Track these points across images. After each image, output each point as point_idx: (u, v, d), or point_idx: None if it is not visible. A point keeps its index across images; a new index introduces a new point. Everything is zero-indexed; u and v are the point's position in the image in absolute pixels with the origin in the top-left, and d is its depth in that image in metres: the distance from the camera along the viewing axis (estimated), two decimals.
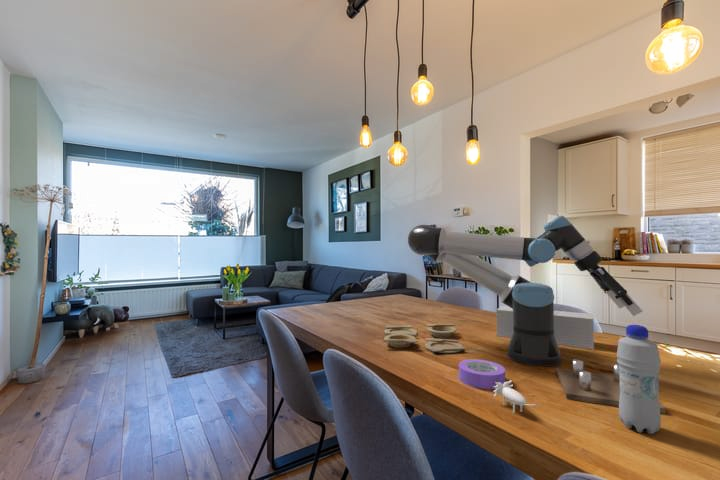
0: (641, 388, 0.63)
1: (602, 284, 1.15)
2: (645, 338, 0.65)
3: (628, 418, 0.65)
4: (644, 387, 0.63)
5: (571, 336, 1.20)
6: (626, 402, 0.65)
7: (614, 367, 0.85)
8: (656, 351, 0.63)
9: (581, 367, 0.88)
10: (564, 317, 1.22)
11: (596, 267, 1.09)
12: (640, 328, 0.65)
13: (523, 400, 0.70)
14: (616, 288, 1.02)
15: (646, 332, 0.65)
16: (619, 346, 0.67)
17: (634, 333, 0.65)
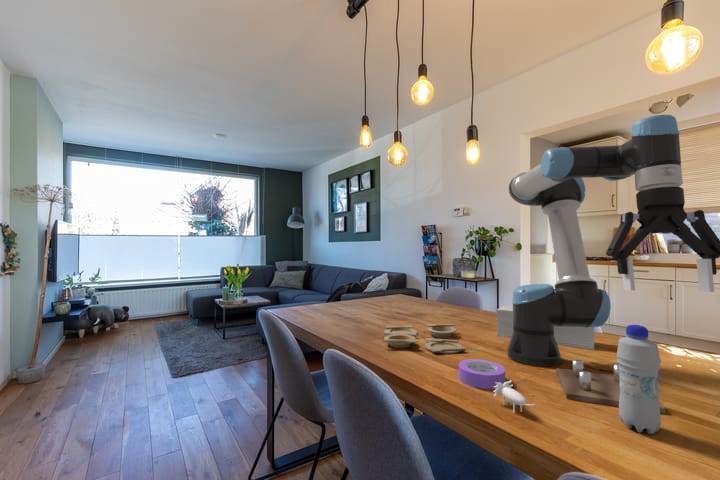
0: (641, 388, 0.63)
1: (688, 244, 0.69)
2: (645, 338, 0.65)
3: (628, 418, 0.65)
4: (644, 387, 0.63)
5: (571, 336, 1.20)
6: (626, 402, 0.65)
7: (614, 367, 0.85)
8: (656, 351, 0.63)
9: (581, 367, 0.88)
10: None
11: (640, 211, 0.71)
12: (640, 328, 0.65)
13: (523, 400, 0.70)
14: (612, 245, 0.72)
15: (646, 332, 0.65)
16: (619, 346, 0.67)
17: (634, 333, 0.65)
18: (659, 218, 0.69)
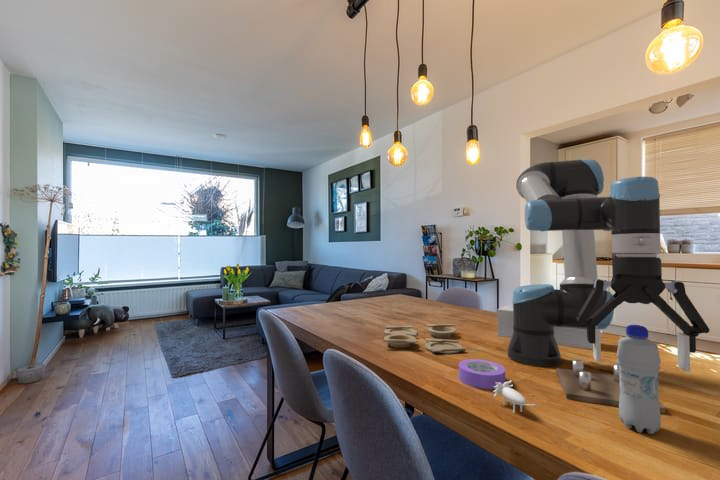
0: (641, 388, 0.63)
1: (667, 316, 0.65)
2: (645, 338, 0.65)
3: (628, 418, 0.65)
4: (644, 387, 0.63)
5: (571, 336, 1.20)
6: (626, 402, 0.65)
7: (614, 367, 0.85)
8: (656, 351, 0.63)
9: (581, 367, 0.88)
10: None
11: (613, 278, 0.68)
12: (640, 328, 0.65)
13: (523, 400, 0.70)
14: (582, 312, 0.70)
15: (646, 332, 0.65)
16: (619, 346, 0.67)
17: (634, 333, 0.65)
18: (631, 289, 0.65)
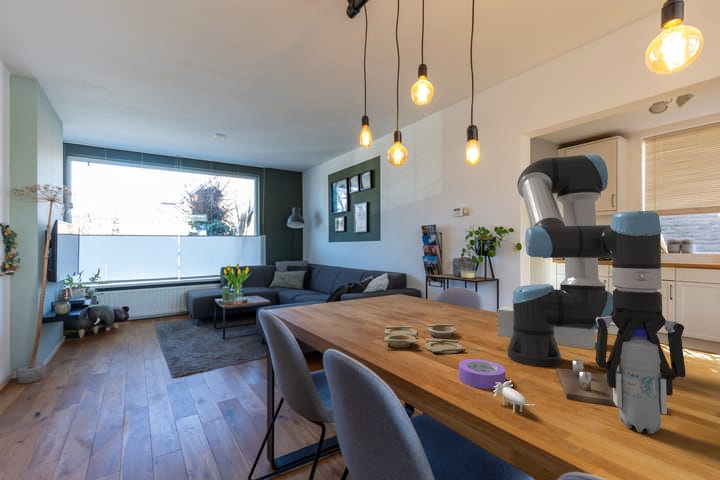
0: (642, 388, 0.63)
1: None
2: (645, 338, 0.65)
3: (628, 418, 0.65)
4: (644, 387, 0.63)
5: (572, 336, 1.20)
6: (627, 402, 0.65)
7: None
8: (656, 351, 0.63)
9: (581, 367, 0.88)
10: None
11: (611, 312, 0.68)
12: (640, 328, 0.65)
13: (523, 400, 0.70)
14: (598, 354, 0.69)
15: (646, 332, 0.65)
16: None
17: (634, 333, 0.65)
18: (631, 324, 0.65)
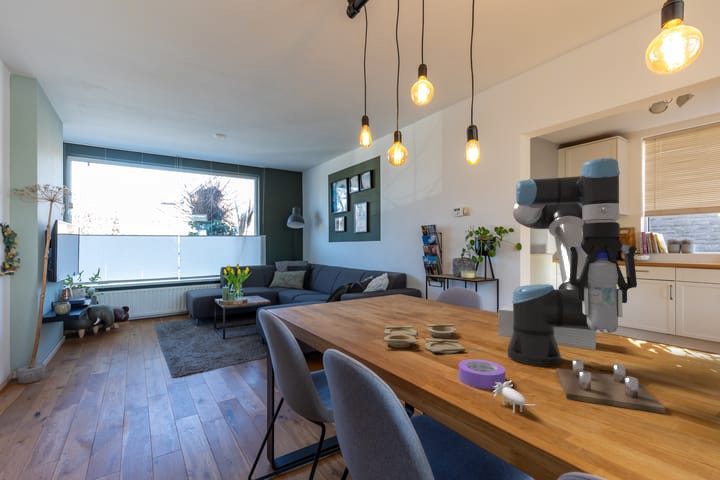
0: (603, 297, 0.81)
1: None
2: None
3: (593, 322, 0.82)
4: (605, 296, 0.80)
5: (572, 336, 1.20)
6: (592, 310, 0.82)
7: (614, 367, 0.85)
8: (614, 268, 0.81)
9: (581, 367, 0.88)
10: None
11: (581, 242, 0.85)
12: (603, 251, 0.82)
13: (523, 400, 0.70)
14: (570, 275, 0.86)
15: (607, 254, 0.82)
16: None
17: (598, 256, 0.82)
18: (596, 248, 0.82)
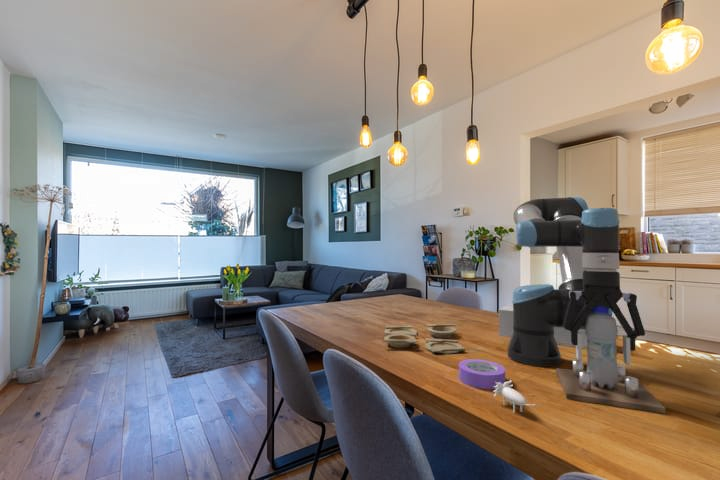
0: (602, 353, 0.81)
1: (618, 320, 0.83)
2: (606, 314, 0.82)
3: (593, 377, 0.82)
4: (605, 352, 0.80)
5: None
6: (592, 365, 0.82)
7: None
8: (614, 324, 0.81)
9: (581, 367, 0.88)
10: None
11: (582, 288, 0.85)
12: (602, 306, 0.82)
13: (523, 400, 0.70)
14: (565, 319, 0.87)
15: (606, 309, 0.82)
16: (586, 321, 0.84)
17: (597, 310, 0.82)
18: (596, 297, 0.82)
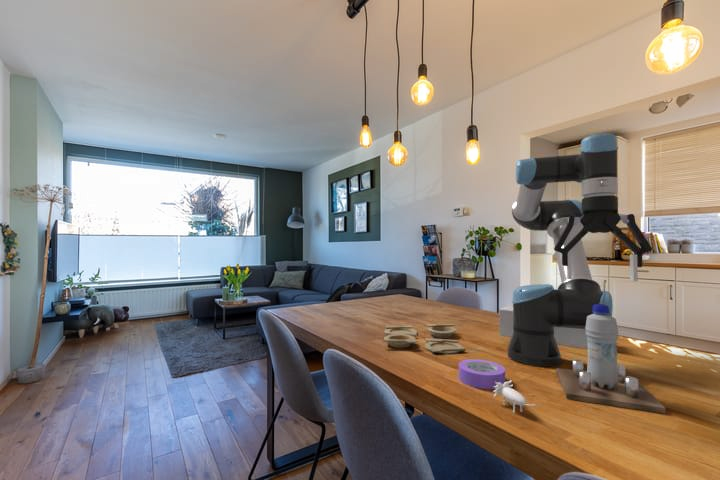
0: (603, 353, 0.81)
1: (622, 241, 0.84)
2: (606, 314, 0.82)
3: (593, 377, 0.82)
4: (605, 352, 0.80)
5: (573, 336, 1.20)
6: (592, 365, 0.82)
7: None
8: (614, 324, 0.81)
9: (581, 367, 0.88)
10: None
11: (582, 214, 0.87)
12: (602, 306, 0.82)
13: (523, 400, 0.70)
14: (558, 242, 0.89)
15: (607, 309, 0.82)
16: (587, 321, 0.84)
17: (598, 310, 0.82)
18: (594, 221, 0.84)
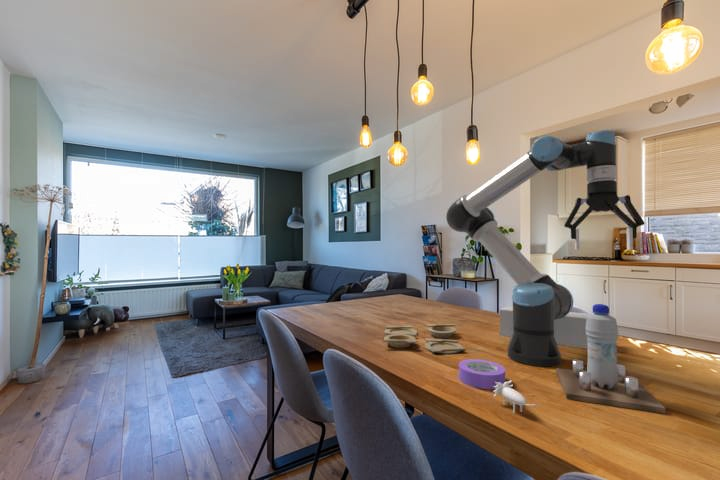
0: (603, 353, 0.81)
1: (620, 218, 1.03)
2: (606, 314, 0.82)
3: (593, 377, 0.82)
4: (605, 352, 0.80)
5: (574, 336, 1.20)
6: (592, 365, 0.82)
7: None
8: (614, 324, 0.81)
9: (581, 367, 0.88)
10: (567, 317, 1.21)
11: (587, 196, 1.06)
12: (602, 306, 0.82)
13: (523, 400, 0.70)
14: (567, 220, 1.08)
15: (607, 309, 0.82)
16: (587, 321, 0.84)
17: (598, 310, 0.82)
18: (597, 201, 1.03)
